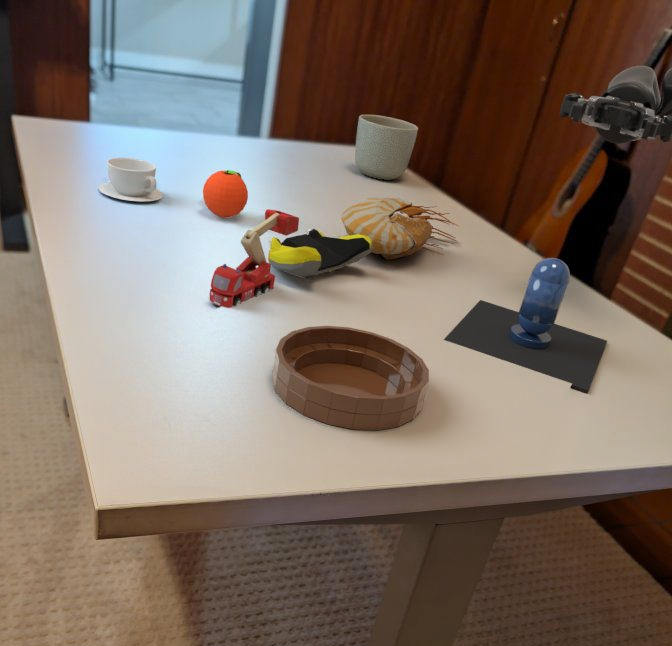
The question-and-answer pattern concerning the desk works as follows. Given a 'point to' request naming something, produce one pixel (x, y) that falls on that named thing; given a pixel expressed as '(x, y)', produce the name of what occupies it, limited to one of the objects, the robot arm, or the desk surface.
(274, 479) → the desk surface
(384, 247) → the nautilus shell
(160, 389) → the desk surface
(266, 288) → the toy fire truck
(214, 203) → the clementine
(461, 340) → the mat
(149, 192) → the teacup
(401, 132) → the planter
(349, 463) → the desk surface
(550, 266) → the blue pill figure
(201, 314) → the desk surface
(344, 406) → the bowl
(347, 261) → the black yellow sneaker
